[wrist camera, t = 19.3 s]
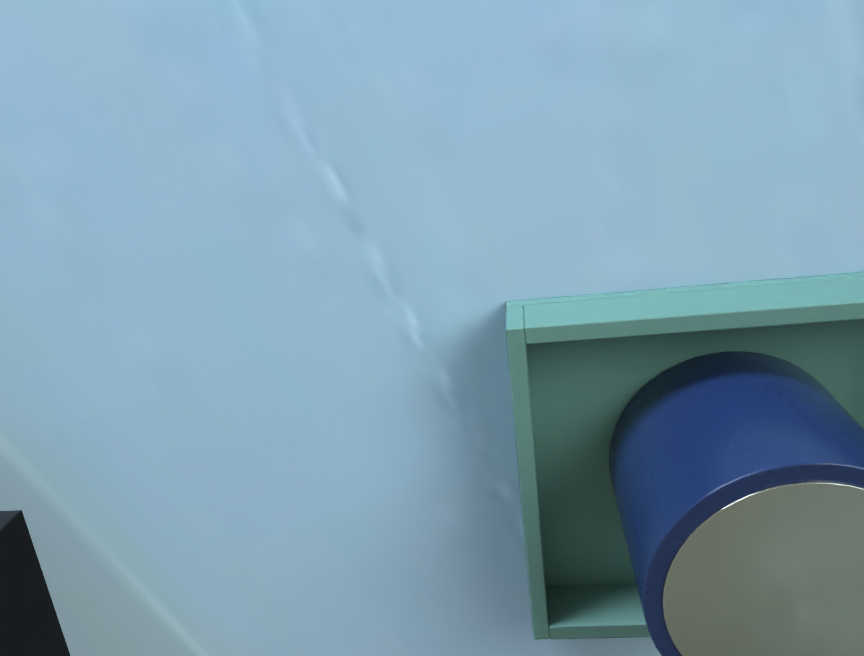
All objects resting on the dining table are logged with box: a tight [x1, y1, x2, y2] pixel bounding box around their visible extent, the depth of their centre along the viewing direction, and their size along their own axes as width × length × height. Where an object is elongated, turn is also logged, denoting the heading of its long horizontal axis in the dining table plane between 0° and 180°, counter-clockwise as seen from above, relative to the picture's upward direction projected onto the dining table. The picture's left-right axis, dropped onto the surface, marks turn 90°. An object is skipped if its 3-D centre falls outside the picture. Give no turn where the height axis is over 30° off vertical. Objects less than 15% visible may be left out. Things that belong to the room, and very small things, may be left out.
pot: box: [609, 351, 864, 656], centre depth 31 cm, size 10×11×11 cm
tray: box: [506, 272, 864, 639], centre depth 35 cm, size 20×17×4 cm
